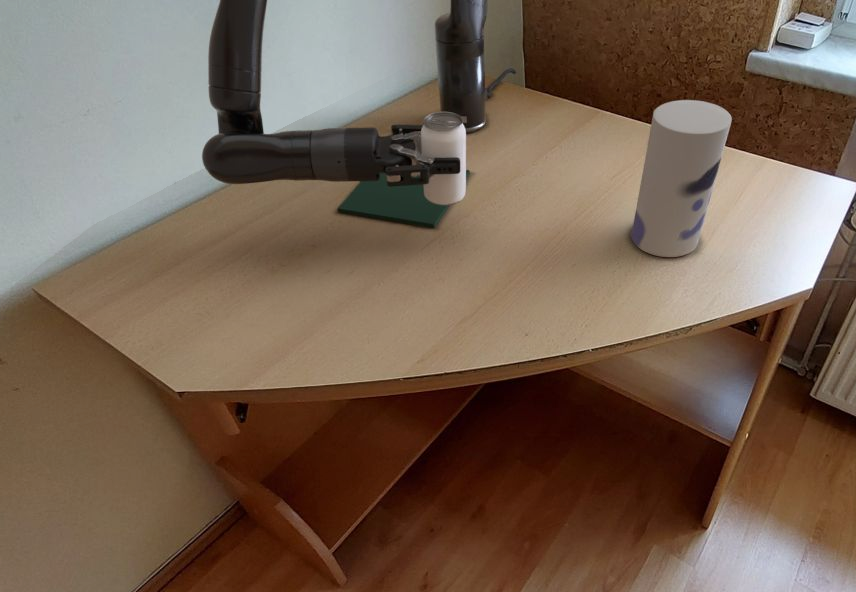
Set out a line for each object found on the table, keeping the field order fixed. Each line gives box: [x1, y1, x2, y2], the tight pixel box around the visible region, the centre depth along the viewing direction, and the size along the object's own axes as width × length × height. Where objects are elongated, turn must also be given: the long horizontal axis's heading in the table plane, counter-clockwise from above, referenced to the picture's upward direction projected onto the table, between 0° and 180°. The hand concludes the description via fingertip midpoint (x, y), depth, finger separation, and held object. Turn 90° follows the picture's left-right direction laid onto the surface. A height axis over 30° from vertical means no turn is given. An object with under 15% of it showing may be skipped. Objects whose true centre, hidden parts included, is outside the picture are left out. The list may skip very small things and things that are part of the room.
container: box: [631, 99, 733, 258], centre depth 89 cm, size 10×10×20 cm
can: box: [420, 111, 467, 206], centre depth 91 cm, size 6×6×12 cm
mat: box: [337, 163, 471, 229], centre depth 110 cm, size 18×18×1 cm
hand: (459, 153), depth 90 cm, fingers closed on can, 6 cm apart
